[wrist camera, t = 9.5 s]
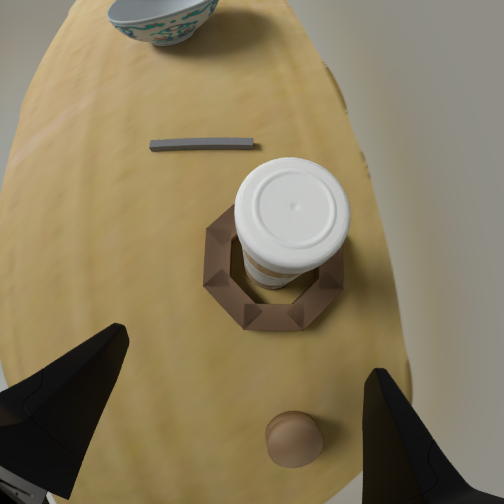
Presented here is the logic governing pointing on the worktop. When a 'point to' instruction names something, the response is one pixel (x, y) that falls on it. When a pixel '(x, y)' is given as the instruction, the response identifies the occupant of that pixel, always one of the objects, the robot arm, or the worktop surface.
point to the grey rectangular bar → (201, 144)
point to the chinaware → (160, 19)
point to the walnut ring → (264, 314)
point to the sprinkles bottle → (289, 220)
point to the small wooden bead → (293, 439)
